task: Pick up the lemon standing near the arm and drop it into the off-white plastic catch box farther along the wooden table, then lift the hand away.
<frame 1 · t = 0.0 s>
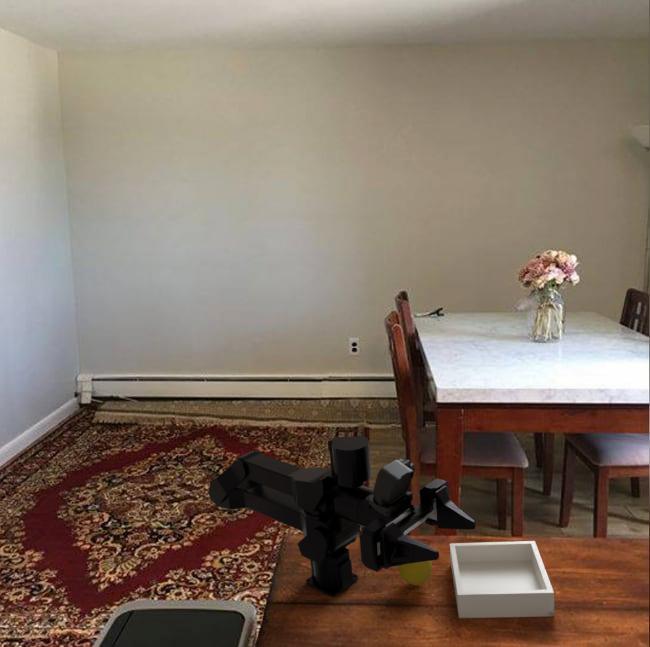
hand: (457, 540, 95), 17 cm above the table, tool horizontal, fingers open, 9 cm apart
lemon: (416, 586, 114), on the table
catch box: (499, 588, 111), on the table
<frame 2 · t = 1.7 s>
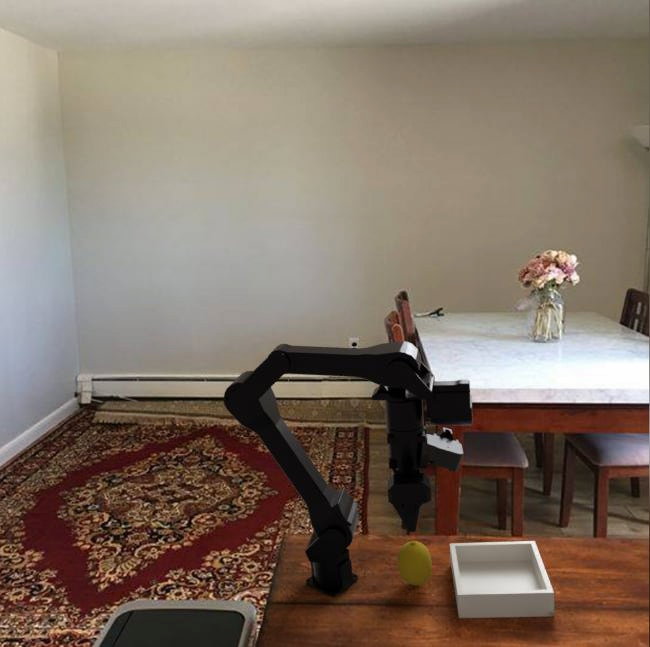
hand: (411, 516, 111), 12 cm above the table, tool pointing down, fingers open, 9 cm apart
nothing on the table moved.
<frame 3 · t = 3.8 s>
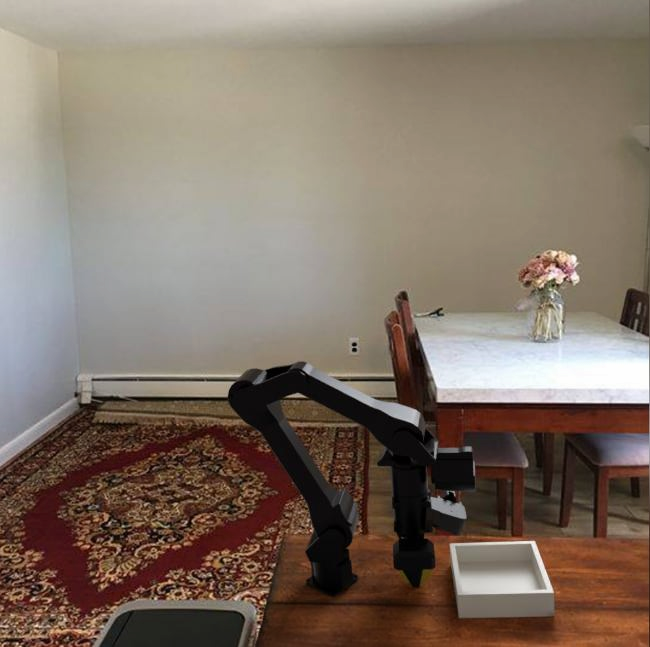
hand: (415, 576, 113), 2 cm above the table, tool pointing down, fingers closed on lemon, 5 cm apart
lemon: (416, 586, 114), on the table, touching gripper
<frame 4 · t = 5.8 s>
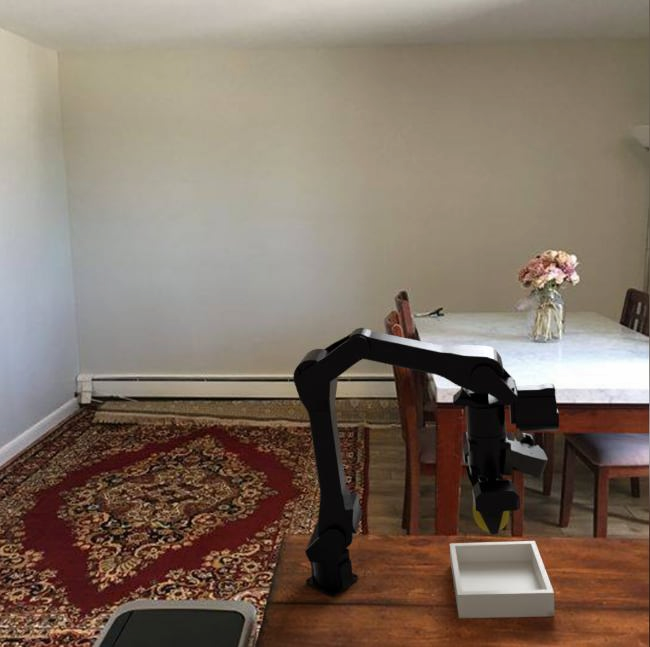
hand: (491, 524, 108), 11 cm above the table, tool pointing down, fingers closed on lemon, 5 cm apart
lemon: (492, 534, 109), point 10 cm above the table, touching gripper
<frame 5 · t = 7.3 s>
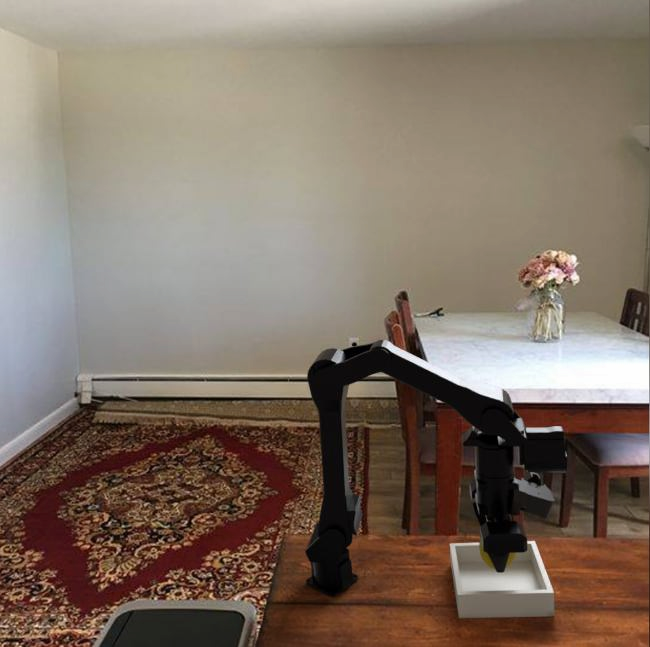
hand: (497, 561, 110), 5 cm above the table, tool pointing down, fingers closed on lemon, 5 cm apart
lemon: (498, 571, 110), point 3 cm above the table, touching gripper
when the fingers open (5 cm above the table, at t = 7.8 s): lemon drops 2 cm, resting on catch box.
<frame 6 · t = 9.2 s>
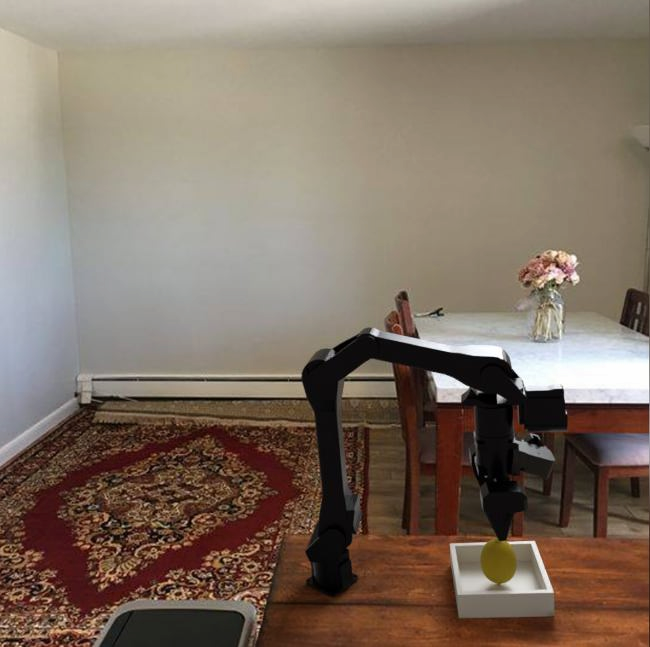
hand: (497, 524, 108), 11 cm above the table, tool pointing down, fingers open, 9 cm apart
lemon: (498, 584, 111), point 1 cm above the table, touching catch box
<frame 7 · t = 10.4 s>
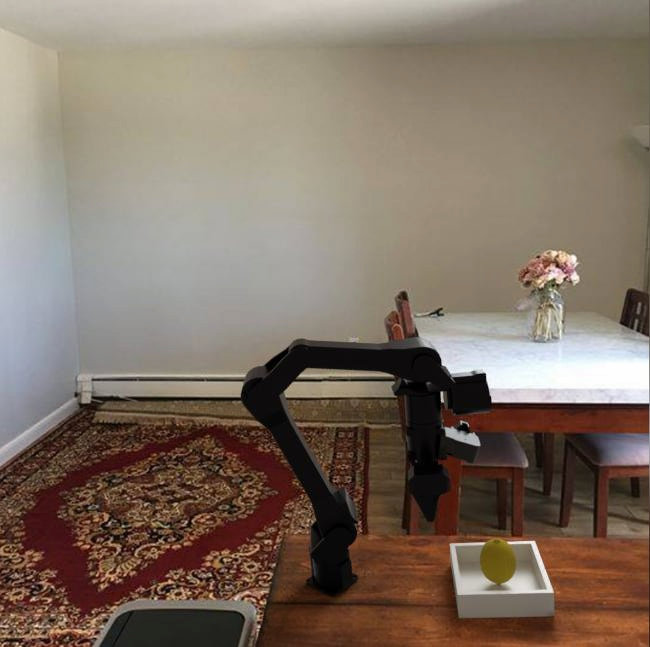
hand: (429, 507, 114), 12 cm above the table, tool pointing down, fingers open, 9 cm apart
nothing on the table moved.
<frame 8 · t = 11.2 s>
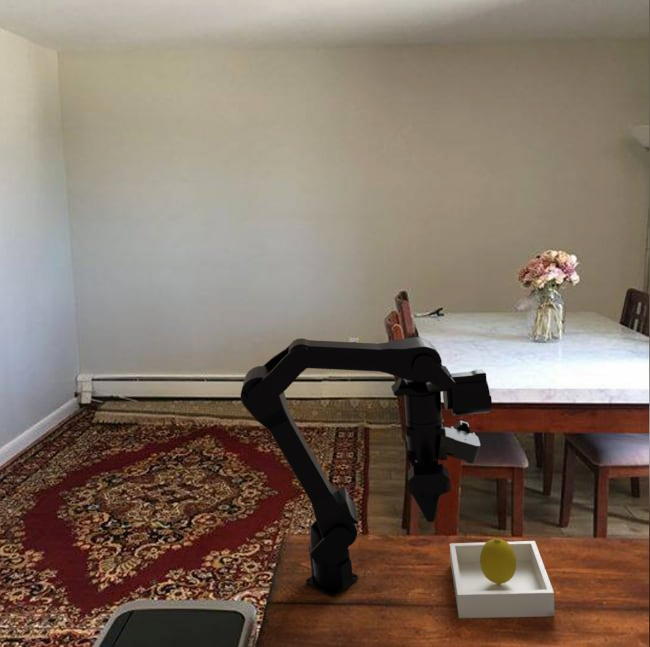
hand: (429, 506, 114), 12 cm above the table, tool pointing down, fingers open, 9 cm apart
nothing on the table moved.
at the end: lemon inside the target area on the catch box (0.1 cm from its centre), point 0.6 cm above the catch box's base; the gripper is holding nothing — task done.
